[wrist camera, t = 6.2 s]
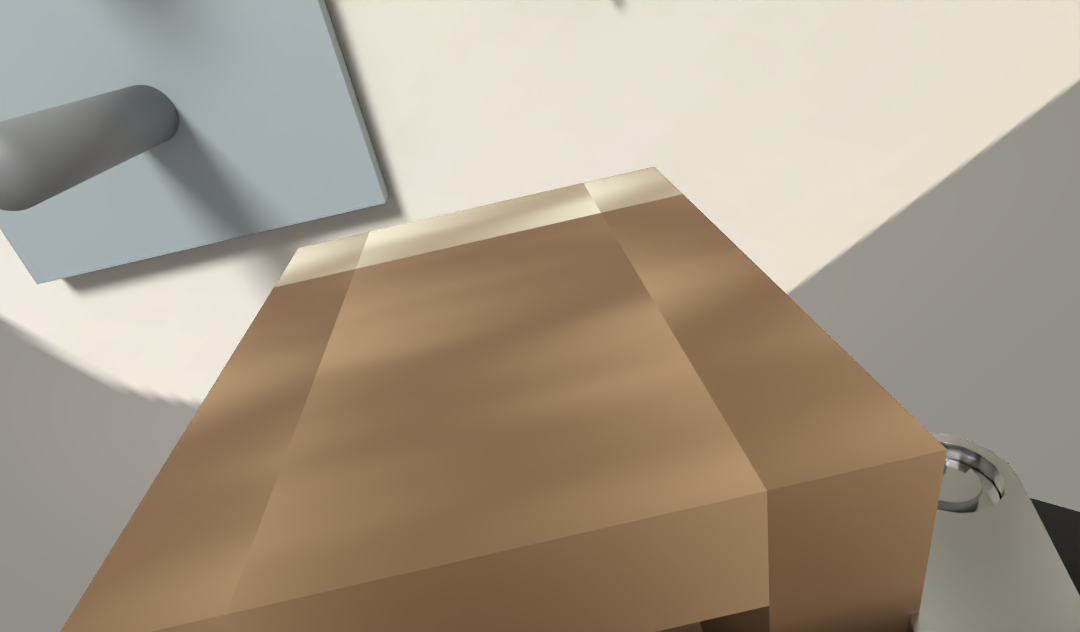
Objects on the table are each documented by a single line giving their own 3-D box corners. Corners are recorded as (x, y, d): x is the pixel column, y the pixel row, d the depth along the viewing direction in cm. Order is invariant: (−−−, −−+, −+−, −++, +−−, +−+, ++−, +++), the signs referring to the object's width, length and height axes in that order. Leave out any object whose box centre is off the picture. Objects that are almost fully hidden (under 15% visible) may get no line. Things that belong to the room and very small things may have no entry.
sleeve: (654, 166, 10) (946, 449, 4) (683, 441, 13) (877, 847, 7) (298, 247, 10) (44, 655, 4) (407, 504, 13) (359, 966, 7)
